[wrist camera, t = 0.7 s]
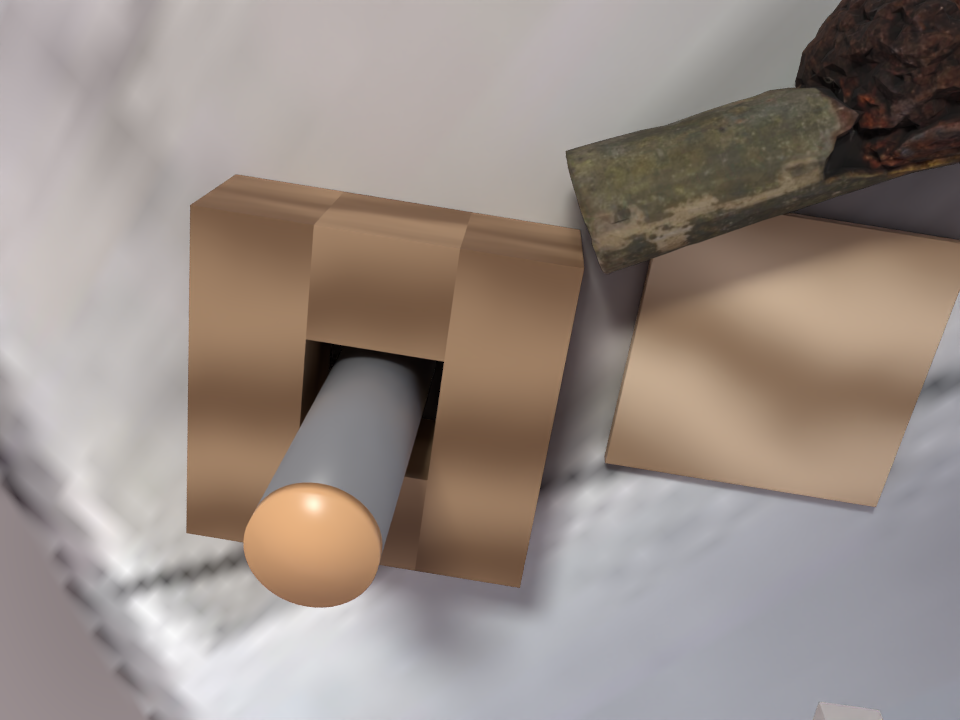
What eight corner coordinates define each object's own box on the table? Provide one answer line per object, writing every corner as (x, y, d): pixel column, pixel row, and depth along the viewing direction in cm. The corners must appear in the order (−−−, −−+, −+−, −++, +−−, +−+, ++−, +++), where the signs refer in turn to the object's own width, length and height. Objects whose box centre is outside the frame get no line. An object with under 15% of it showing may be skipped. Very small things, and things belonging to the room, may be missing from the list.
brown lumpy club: (598, 262, 36) (608, 300, 31) (548, 94, 34) (548, 104, 29) (1068, 117, 33) (1169, 132, 28) (1043, -76, 31) (1146, -100, 26)
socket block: (235, 174, 36) (190, 205, 32) (580, 229, 36) (584, 268, 32) (226, 470, 42) (186, 532, 37) (523, 519, 42) (519, 587, 37)
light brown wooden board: (665, 192, 35) (667, 196, 35) (969, 241, 35) (976, 246, 35) (604, 456, 40) (605, 462, 40) (871, 499, 40) (875, 507, 40)
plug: (348, 309, 38) (245, 483, 26) (441, 324, 38) (385, 505, 26) (340, 392, 40) (241, 595, 27) (429, 407, 40) (372, 617, 27)
